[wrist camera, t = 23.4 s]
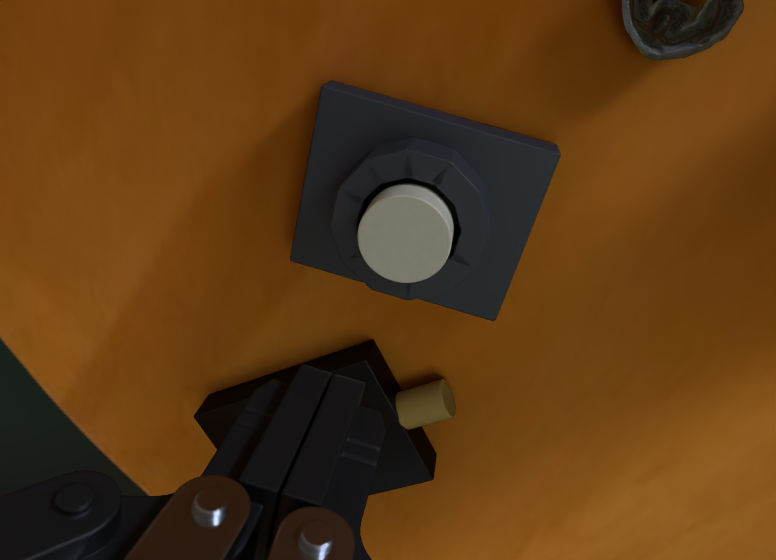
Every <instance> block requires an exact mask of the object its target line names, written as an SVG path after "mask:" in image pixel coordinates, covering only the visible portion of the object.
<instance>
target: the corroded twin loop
mask: <svg viewBox="0 0 776 560" xmlns="http://www.w3.org/2000/svg"><path fill="white" fill-rule="evenodd" d="M743 8H744V4H743V0H707V1H706V3H705V5H704V6H703V7H702V8H701V11H700V13H699V14H698V16H697V17H696V18H695V20H694V21H693V18H694V16H695V14H696V13H697V11H698V9H697V8H695V7H693V6H691V5H689V4H687V3H685V2H683V1H681V0H657V1H656V2H655V3H653V2H652V0H622V14H623V22H624V25H625V30H626V31H627V32H628V34H629V35H630V37H631V38H632V40H633V42H634V44H635V45H636V46H637V48H638V49H639V51H640V53H641V54H642V55H644V56H646V57H648V58H650V59H652V60H669V59H677V58H686V57H688V56H690V55H692V54H695V53H698V52H701V51H703V50H705V49H708V48H710V47H711V46H712V45H713V44H714V43H716V42H718V41H720V40H723V39H724V38H725V37H726V36H727V35H728V33H729V32H730V30H731V29H732V27H733V26H734V24H735V23H736V21H737V19H738V18H739V16H740V15H741V13H742V12H743Z"/></svg>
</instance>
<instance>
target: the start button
mask: <svg viewBox="0 0 776 560" xmlns="http://www.w3.org/2000/svg"><path fill="white" fill-rule="evenodd" d="M453 232H454V222H453V217H452V214H451V211H450V209H449V207H448V205H447V204H446V202H445V201H444V200H443V199H442V198H441V197H440V196H439V195H438V194H437V193H436V192H434V191H433V190H431V189H429V188H427V187H425V186H422V185H418V184H412V183H402V184H396V185H393V186H390V187H388V188H386V189H384V190H383V191H381V192H380V193H379V194H378V195H376V197H375V198H374V199H373V200H372V202H371V203H370V205H369V206H368V208H367V210H366V212H365V213H364V215H363V217H362V219H361V221H360V224H359V227H358V236H357V239H358V245H359V249H360V252H361V254H362V256H363V258H364V260H365V261H366V263H367V264H368V265H369V266H370V267H371V269H373V270H374V271H375V272H376V273H378V274H379V275H381V276H382V277H384V278H386V279H389V280H392V281H395V282H401V283H412V282H418V281H422V280H424V279H427V278H429V277H431V276H432V275H434V274H435V273H437V272H438V271H439V270H440V269H441V268H442V266H443V265H444V264H445V262H446V260H447V259H448V256H449V254H450V250H451V244H452V238H453Z"/></svg>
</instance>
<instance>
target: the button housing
mask: <svg viewBox="0 0 776 560" xmlns="http://www.w3.org/2000/svg"><path fill="white" fill-rule="evenodd" d="M560 156H561V154H560V151H559V149H558V146H557V145H555V144H552V143H548V142H545V141H541V140H538V139H534V138H531V137H527V136H524V135H521V134H517V133H514V132H510V131H507V130H503V129H500V128H496V127H493V126H489V125H486V124H482V123H479V122H475V121H472V120H468V119H465V118H461V117H458V116H454V115H451V114H447V113H444V112H440V111H437V110H433V109H430V108H426V107H423V106H419V105H416V104H412V103H409V102H405V101H402V100H398V99H395V98H391V97H388V96H384V95H381V94H377V93H374V92H371V91H367V90H364V89H360V88H357V87H353V86H350V85H346V84H343V83H339V82H336V81H329V82H327V83H326V84H324V85H322V87H321V92H320V97H319V102H318V108H317V113H316V119H315V124H314V130H313V135H312V141H311V146H310V152H309V157H308V163H307V168H306V174H305V179H304V184H303V190H302V195H301V201H300V206H299V212H298V217H297V223H296V228H295V234H294V239H293V245H292V250H291V256H290V261H293V262H296V263H300V264H303V265H306V266H310V267H313V268H316V269H320V270H323V271H327V272H330V273H333V274H337V275H340V276H343V277H347V278H350V279H353V280H357V281H360V282H363V283H365V284H366V285H367V286H368V287H369V288H371V289H372V290H375V291H379V292H382V293H385V294H389V295H392V296H395V297H399V298H402V299H405V300H412V299H420V300H424V301H427V302H431V303H434V304H437V305H441V306H444V307H447V308H451V309H454V310H457V311H461V312H464V313H467V314H471V315H474V316H478V317H481V318H484V319H488V320H491V321H495V320H496V318H497V315H498V313H499V310H500V308H501V305H502V303H503V300H504V298H505V295H506V292H507V290H508V287H509V285H510V282H511V280H512V277H513V275H514V272H515V270H516V267H517V265H518V262H519V260H520V257H521V254H522V252H523V249H524V247H525V244H526V242H527V239H528V237H529V234H530V232H531V229H532V227H533V224H534V221H535V219H536V216H537V214H538V211H539V209H540V206H541V204H542V201H543V199H544V196H545V194H546V191H547V189H548V186H549V183H550V181H551V178H552V176H553V173H554V171H555V168H556V166H557V163H558V161H559V158H560ZM402 183H412V184H418V185H422V186H425V187H427V188H429V189H431V190H433V191H434V192H436V193H437V194H438V195H439V196H440V197H441V198H442V199H443V200H444V201H445V202H446V204H447V205H448V207H449V209H450V211H451V214H452V217H453V222H454V232H453V238H452V244H451V250H450V254H449V256H448V259H447V260H446V262H445V264H444V265H443V266H442V268H441V269H440V270H439V271H438V272H437V273H435V274H434V275H432V276H431V277H429V278H427V279H424V280H422V281H418V282H412V283H401V282H395V281H392V280H389V279H386V278H384V277H382V276H381V275H379V274H378V273H376V272H375V271H374V270H373V269H371V267H370V266H369V265H368V264H367V263H366V261H365V260H364V258H363V256H362V254H361V252H360V249H359V245H358V239H357V236H358V227H359V224H360V221H361V219H362V217H363V215H364V213H365V212H366V210H367V208H368V206H369V205H370V203H371V202H372V200H373V199H374V198H375V197H376V195H378V194H379V193H380V192H381V191H383V190H384V189H386V188H388V187H390V186H393V185H396V184H402Z"/></svg>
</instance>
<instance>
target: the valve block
mask: <svg viewBox="0 0 776 560" xmlns="http://www.w3.org/2000/svg"><path fill="white" fill-rule="evenodd" d="M301 364H304V365H308V366H311V367H314V368H318V369H321V370H324V371H327V372H331V373H333V376H334V374H338V375H341V376H344V377H348V378H351V379H354V380H358V381H361V382H364V383H365V387H364V391H363V395H362V399H361V402H360V406H364V407H367V408H370V409H373V410H377V411H380V412H381V414H382V418H383V421H384V425H385V429H386V431H385V435H384V439H383V443H382V446H381V450H380V454H379V457H378V461H377V465H376V469H375V472H374V476H373V480H372V484H371V487H370V491H369V495H373V494H377V493H381V492H385V491H389V490H394V489H398V488H402V487H406V486H410V485H415V484H419V483H423V482H427V481H431V480H433V479H434V472H435V464H436V456H437V454H436V452H435V451H434V449H433V447H432V445H431V443H430V441H429V440H428V438H427V436H426V434H425V432H424V431H423V429H422V427H421V426H424V425H428V424H431V423H435V422H439V421H442V420H446V419H450V418H453V417H454V416H455V414H456V406H455V400H454V396H453V393H452V391H451V389H450V387H449V385H448V383H447V382H446V381H445V380H443V379H441V380H438V381H434V382H431V383H428V384H424V385H421V386H418V387H414V388H411V389H408V390H404V391H401V389H400V387H399V385H398V383H397V382H396V380H395V378H394V376H393V374H392V373H391V371H390V369H389V367H388V365H387V364H386V362H385V360H384V358H383V356H382V355H381V353H380V351H379V349H378V347H377V345H376V344H375V342H374V340H370V341H367V342H364V343H361V344H358V345H355V346H352V347H349V348H346V349H343V350H340V351H337V352H334V353H331V354H328V355H325V356H322V357H319V358H316V359H313V360H310V361H307V362H304V363H301ZM301 364H298V365H295V366H292V367H290V368H287V369H284V370H281V371H278V372H275V373H272V374H269V375H266V376H263V377H260V378H257V379H254V380H251V381H248V382H245V383H242V384H239V385H236V386H233V387H230V388H227V389H224V390H221V391H218V392H215V393H212V394H210V395H208V396H207V398H206V399H205V401H204V402H203V403H202V405H201V406H200V408H199V409H198V411H197V412H196V413H195V415H194V418H195V420H196V421H197V422H198V424H199V425H200V426H201V428H202V429H203V431H204V432H205V433H206V435H207V436H208V438H209V439H210V440H211V442H212V443H213V444H214V446H215V447H216V449H217V450H218V448H219V447H220V445H221V443H222V442H223V440H224V439H225V437H226V435H227V434H228V432H229V431H230V429H231V427H232V426H233V424H234V423H235V422H236V419H237V418H238V416H239V414H240V413H241V411H242V410H244V407H245V405H246V403H247V402H248V400H249V398H250V397H251V395H252V394H253V392H254V390H256V389H257V388H259V387H260V386H262V385H263V384H265V383H267V382H268V381H270V380H271V379H275V380H278V381H281V382H284V383H288V384H291V382H292V380H293V378H294V376H295V374H296V373H297V371H298V369H299V367H300V366H301ZM332 378H333V377H332Z"/></svg>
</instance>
